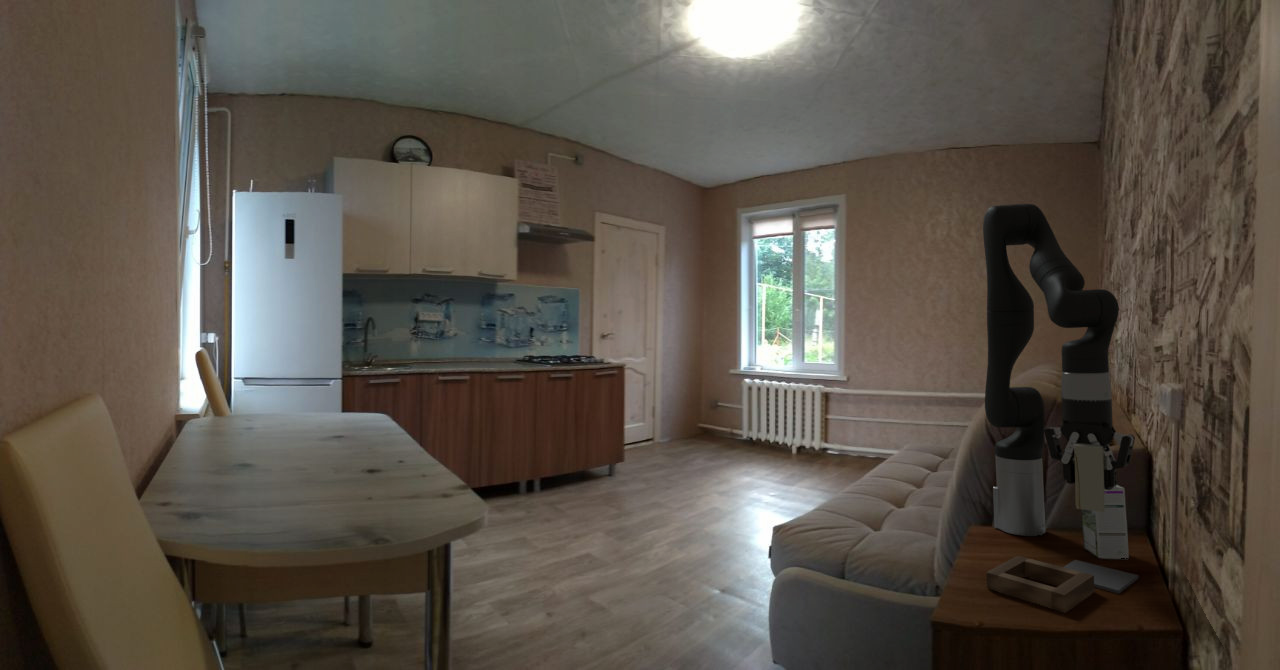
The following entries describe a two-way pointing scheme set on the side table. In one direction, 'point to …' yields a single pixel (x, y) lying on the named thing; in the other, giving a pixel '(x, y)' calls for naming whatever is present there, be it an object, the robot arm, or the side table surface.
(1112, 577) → the rubber mat
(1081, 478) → the skincare box
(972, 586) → the side table surface
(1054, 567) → the walnut collar
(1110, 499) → the syrup box
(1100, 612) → the side table surface
